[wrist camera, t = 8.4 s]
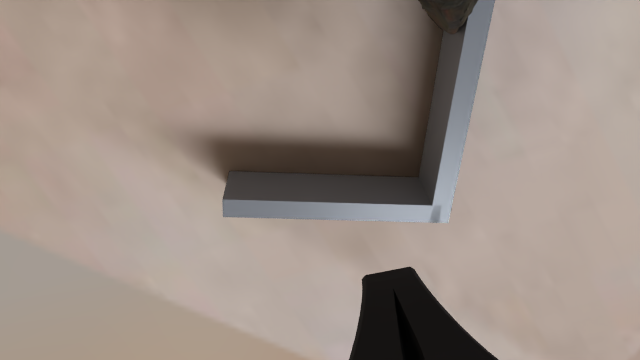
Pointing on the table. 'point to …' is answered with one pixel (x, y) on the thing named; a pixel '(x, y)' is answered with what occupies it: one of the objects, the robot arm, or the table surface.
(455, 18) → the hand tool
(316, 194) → the u-shaped bracket
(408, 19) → the table surface
